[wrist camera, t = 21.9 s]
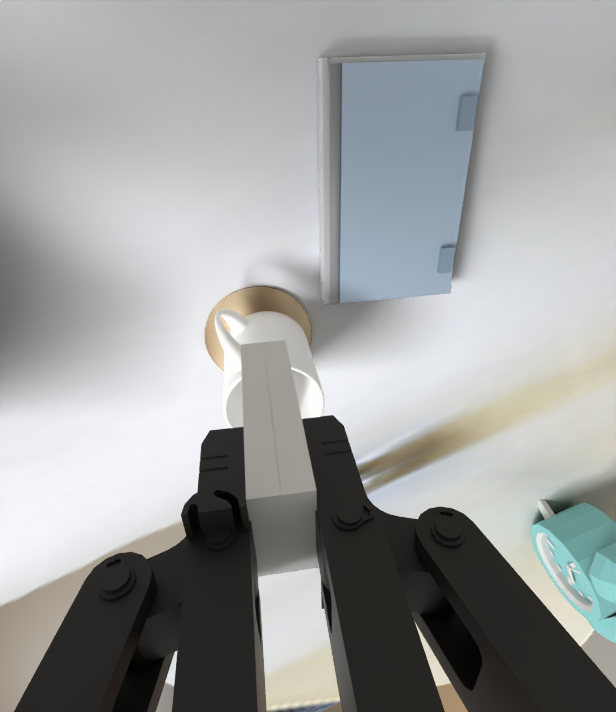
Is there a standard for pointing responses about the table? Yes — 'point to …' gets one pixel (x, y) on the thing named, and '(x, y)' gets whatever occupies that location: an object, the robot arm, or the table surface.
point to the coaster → (248, 304)
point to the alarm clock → (581, 560)
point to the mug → (266, 330)
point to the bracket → (325, 143)
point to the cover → (398, 174)
